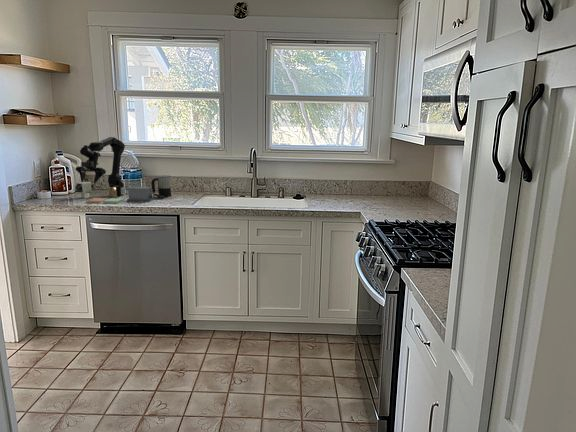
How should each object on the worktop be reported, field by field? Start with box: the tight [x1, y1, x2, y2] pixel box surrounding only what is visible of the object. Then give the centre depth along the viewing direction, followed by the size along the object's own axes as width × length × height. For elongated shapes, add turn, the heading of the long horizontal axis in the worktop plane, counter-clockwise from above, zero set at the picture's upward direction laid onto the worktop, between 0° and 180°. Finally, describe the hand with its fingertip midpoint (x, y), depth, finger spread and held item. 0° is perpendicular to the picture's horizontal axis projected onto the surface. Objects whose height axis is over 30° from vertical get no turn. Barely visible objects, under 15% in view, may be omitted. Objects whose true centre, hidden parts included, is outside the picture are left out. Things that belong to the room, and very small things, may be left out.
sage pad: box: [102, 197, 125, 205], centre depth 290 cm, size 10×10×2 cm
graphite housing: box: [127, 186, 155, 202], centre depth 297 cm, size 8×16×9 cm, turn 84°
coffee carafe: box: [150, 174, 172, 199], centre depth 309 cm, size 14×16×15 cm
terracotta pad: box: [85, 197, 109, 204], centre depth 292 cm, size 10×10×2 cm
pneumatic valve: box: [75, 180, 94, 199], centre depth 304 cm, size 6×12×12 cm, turn 155°
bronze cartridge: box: [107, 186, 118, 199], centre depth 302 cm, size 5×5×8 cm
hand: (88, 182), depth 283 cm, fingers open, 9 cm apart
